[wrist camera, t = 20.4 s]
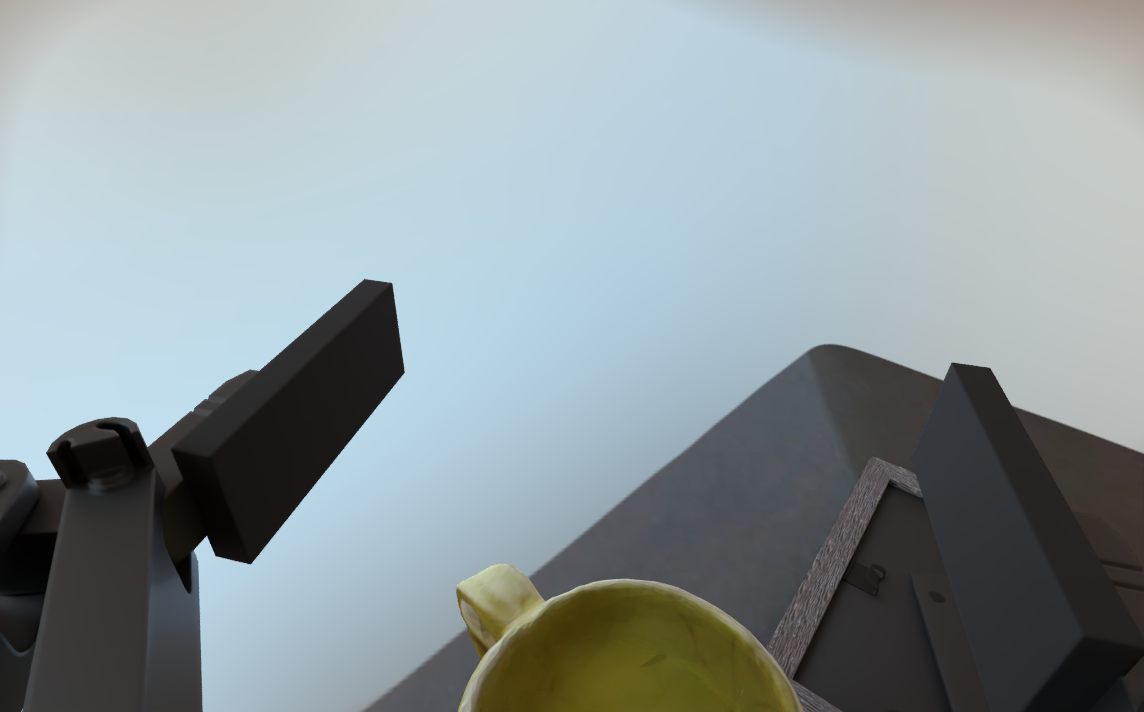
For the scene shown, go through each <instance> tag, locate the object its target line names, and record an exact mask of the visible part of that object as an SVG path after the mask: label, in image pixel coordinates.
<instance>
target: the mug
mask: <svg viewBox="0 0 1144 712" xmlns="http://www.w3.org/2000/svg"><path fill="white" fill-rule="evenodd" d="M456 593H457V598H458V604H459V608H460V610H461V615H462V617H463V619H464V621H465V623H466V625H467V627H468V631H469V636H470V637H471V639H472V641H473V643H474V645H475V647H476V650H477V652H478V654H479V656H480V658H481V662H480V663H479V665H478V667H477V668H476V670H475V672H474V673H473V675H472V677H471V678H470V680H469V683H468V685H467V687H466V690H465V692H464V695H463V698H462V701H461V704H460V706H459V709H458V712H804V709H803V707H802V705H801V703H800V701H799V698H798V696H797V694H796V692H795V691H794V689H793V687H792V685H791V684H790V682H789V680H788V678H787V677H786V675H785V673H784V672H783V670H782V668H781V667H780V666H779V664H778V663H777V662H776V660H775V659H774V657H773V656H772V655H771V654H770V653H769V652H768V651H767V650H766V649H765V648H764V647H763V645H762V644H761V643H760V642H759V641H758V640H757V639H756V638H755V637H754V636H753V635H752V633H751V632H750V631H749V630H747V629H746V628H745V627H744V626H742V625H741V624H740V623H738V622H737V621H736V620H735V619H733V618H732V617H731V616H729V615H728V614H726V613H725V612H723V611H722V610H720V609H719V608H717V607H716V606H714V605H712V604H710V603H708V602H707V601H705V600H703V599H701V598H699V597H697V596H694V595H692V594H690V593H688V592H686V591H684V590H682V589H680V588H678V587H674V586H671V585H667V584H664V583H659V582H653V581H643V580H632V579H615V580H604V581H598V582H593V583H590V584H587V585H583V586H579V587H577V588H575V589H573V590H571V591H569V592H567V593H564V594H562V595H559V596H556V597H553V598H551V599H549V600H548V601H545V600H544V599H543V598H542V597H541V596H540V594H539V593H538V591H537V590H536V589H535V587H534V586H533V584H532V583H531V581H530V580H529V579H528V578H527V577H526V576H525V575H524V574H523V573H521V572H520V571H519V570H518V569H516V568H515V567H514V566H513V565H507V564H496V565H493V566H491V567H489V568H487V569H485V570H483V571H482V572H480V573H478V574H476V575H475V576H473V577H471V578H469V579H466V580H464V581H463V582H461V583H459V584H458V585H457V586H456Z"/></svg>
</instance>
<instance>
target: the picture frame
mask: <svg viewBox="0 0 1144 712" xmlns="http://www.w3.org/2000/svg"><path fill="white" fill-rule="evenodd" d="M766 650H767V651H768V652H769V653H770V654H771V655H772V656H773V657H774V659H775V660H776V662H777V663H778V664H779V666H780V667H781V668H782V670H783V672H784V673H785V675H786V677H787V678H788V680H789V682H790V684H791V685H792V687H793V689H794V691H795V692H796V694H797V696H798V698H799V701H800V703H801V705H802V707H803V709H804V712H990V709H989V706H988V703H987V700H986V697H985V694H984V690H983V687H982V684H981V681H980V678H979V674H978V671H977V668H976V665H975V662H974V659H973V655H972V652H971V649H970V646H969V643H968V639H967V636H966V633H965V630H964V627H963V624H962V620H961V617H960V614H959V611H958V608H957V604H956V601H955V598H954V595H953V592H952V589H951V585H950V582H949V579H948V576H947V573H946V569H945V566H944V563H943V560H942V557H941V554H940V550H939V547H938V544H937V541H936V538H935V534H934V531H933V528H932V525H931V522H930V519H929V515H928V512H927V509H926V506H925V503H924V499H923V496H922V493H921V490H920V487H919V484H918V480H917V477H916V474H915V473H913V472H910V471H908V470H906V469H903V468H901V467H898V466H896V465H894V464H891V463H889V462H887V461H884V460H882V459H879V458H877V457H875V456H872V457H871V459H870V460H869V462H868V464H867V466H866V468H865V469H864V471H863V473H862V475H861V477H860V479H859V480H858V482H857V484H856V486H855V488H854V489H853V491H852V493H851V495H850V497H849V499H848V500H847V502H846V504H845V506H844V508H843V509H842V511H841V513H840V515H839V517H838V519H837V520H836V522H835V524H834V526H833V528H832V529H831V531H830V533H829V535H828V537H827V539H826V540H825V542H824V544H823V546H822V548H821V549H820V551H819V553H818V555H817V557H816V559H815V560H814V562H813V564H812V566H811V568H810V570H809V571H808V573H807V575H806V577H805V579H804V580H803V582H802V584H801V586H800V588H799V590H798V591H797V593H796V595H795V597H794V599H793V600H792V602H791V604H790V606H789V608H788V610H787V611H786V613H785V615H784V617H783V619H782V620H781V622H780V624H779V626H778V628H777V630H776V631H775V633H774V635H773V637H772V639H771V640H770V642H769V644H768V646H767V648H766Z"/></svg>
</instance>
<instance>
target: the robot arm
mask: <svg viewBox="0 0 1144 712" xmlns="http://www.w3.org/2000/svg"><path fill="white" fill-rule="evenodd" d="M404 373H405V371H404V364H403V357H402V350H401V343H400V336H399V328H398V321H397V314H396V307H395V300H394V292H393V285H392V283H387V282H381V281H374V280H367V279H364V280H363V281H362V282H361V283H359V284H358V285H357V286H356V287H355V288H354V289H353V290H352V291H350V292H349V293H348V294H347V295H346V296H345V297H343V298H342V299H341V300H340V301H339V302H338V303H337V304H335V305H334V306H333V307H332V308H331V309H330V310H329V311H327V312H326V313H325V314H324V315H323V316H322V317H321V318H319V319H318V320H317V321H316V322H315V323H314V324H313V325H311V326H310V327H309V328H308V329H307V330H306V331H305V332H303V333H302V334H301V335H300V336H299V337H298V338H297V339H295V340H294V341H293V342H292V343H291V344H290V345H289V346H288V347H286V348H285V349H284V350H283V351H282V352H281V353H279V355H277V356H276V357H275V358H274V359H273V360H271V361H270V362H269V363H268V364H267V365H266V366H264V367H263V368H262V369H261V370H260V371H255V370H248V371H246V372H244V373H243V374H240V375H238V376H236V377H234V378H232V379H230V380H228V381H226V382H225V383H224V384H223V385H221V386H220V387H219V388H218V389H217V390H216V391H214V392H213V393H212V394H211V395H209V398H208V399H205V400H203V401H202V402H201V403H200V404H199V405H197V406H196V407H195V408H194V411H193V412H192V411H191V412H189V413H188V414H187V415H186V416H184V417H183V418H182V419H181V420H180V421H178V422H177V423H176V424H175V425H174V426H172V427H171V428H170V429H169V430H168V431H167V432H165V433H164V434H163V435H162V436H160V437H159V438H158V439H157V440H156V441H155V442H153V443H152V444H151V445H150V446H149V447H147V446H146V443H145V441H144V439H143V437H142V435H141V432H140V430H139V428H138V426H137V424H136V423H135V422H133V421H131V420H129V419H127V418H117V417H111V418H104V419H97V420H94V421H91V422H87V423H84V424H81V425H79V426H77V427H75V428H73V429H71V430H69V431H67V432H65V433H64V434H63V435H61V436H60V437H59V438H58V439H56V440H55V441H54V442H53V443H52V444H51V446H50V447H49V449H48V451H47V452H46V454H47V456H48V457H49V459H50V461H51V463H52V464H53V466H54V468H55V470H56V471H57V473H58V475H59V476H60V478H61V479H53V480H35V479H34V478H33V476H32V475H31V473H30V471H29V469H28V468H27V466H26V464H25V463H22V462H19V461H17V460H0V712H21V711H22V709H23V711H22V712H203V711H202V678H201V644H200V612H199V611H200V610H199V574H198V561H197V558H196V555H195V552H194V549H195V548H196V547H197V546H198V545H199V543H200V542H201V541H202V540H203V539H204V538H205V537H206V536H207V537H208V539H209V541H210V544H211V546H212V548H213V551H214V553H215V556H217V557H222V558H226V559H230V560H234V561H239V562H243V563H247V564H252V562H253V561H254V560H255V559H256V557H257V556H258V555H259V554H260V552H261V551H262V550H263V549H264V547H265V546H266V545H267V544H268V542H269V541H270V540H271V538H272V537H273V536H274V535H275V534H276V532H277V531H278V530H279V528H280V527H281V526H282V525H283V524H284V522H285V521H286V520H287V519H288V517H289V516H290V515H291V514H292V512H293V511H294V510H295V509H296V507H297V506H298V505H299V504H300V502H301V501H302V500H303V499H304V497H305V496H306V495H307V494H308V492H309V491H310V490H311V489H312V487H313V486H314V485H315V484H316V482H317V481H318V480H319V479H320V478H321V476H322V475H323V474H324V473H325V471H326V470H327V469H328V468H329V466H330V465H331V464H332V463H333V461H334V460H335V459H336V458H337V456H338V455H339V454H340V453H341V451H342V450H343V449H344V447H345V446H346V445H347V444H348V442H349V441H350V440H351V439H352V438H353V436H354V435H355V434H356V433H357V431H358V430H359V429H360V428H361V426H362V425H363V424H364V422H365V421H366V420H367V419H368V418H369V416H370V415H371V414H372V413H373V411H374V410H375V409H376V408H377V406H378V405H379V404H380V403H381V401H382V400H383V399H384V398H385V396H386V395H387V394H388V393H389V391H390V390H391V389H392V388H393V386H394V385H395V384H396V383H397V381H398V380H399V379H400V378H401V376H402V375H403V374H404ZM910 458H911V461H912V464H913V468H914V471H915V474H916V477H917V480H918V484H919V487H920V490H921V493H922V496H923V499H924V503H925V506H926V509H927V512H928V515H929V519H930V522H931V525H932V528H933V531H934V534H935V538H936V541H937V544H938V547H939V550H940V554H941V557H942V560H943V563H944V566H945V569H946V573H947V576H948V579H949V582H950V585H951V589H952V592H953V595H954V598H955V601H956V604H957V608H958V611H959V614H960V617H961V620H962V624H963V627H964V630H965V633H966V636H967V639H968V643H969V646H970V649H971V652H972V655H973V659H974V662H975V665H976V668H977V671H978V674H979V678H980V681H981V684H982V687H983V690H984V694H985V697H986V700H987V703H988V706H989V709H990V712H1144V572H1143V571H1142V568H1143V567H1142V565H1141V564H1140V562H1139V560H1138V559H1137V557H1136V556H1135V554H1134V553H1133V551H1132V549H1131V548H1130V546H1129V545H1128V543H1127V541H1126V540H1124V539H1123V538H1122V537H1121V536H1120V535H1119V534H1118V533H1117V532H1116V531H1115V530H1113V529H1112V528H1111V527H1110V526H1109V525H1108V524H1107V523H1106V522H1105V521H1104V520H1102V519H1101V518H1100V517H1099V516H1095V515H1090V514H1084V513H1078V512H1072V511H1071V509H1070V508H1069V506H1068V504H1067V502H1066V501H1065V499H1064V497H1063V495H1062V493H1061V492H1060V490H1059V488H1058V486H1057V485H1056V483H1055V481H1054V479H1053V478H1052V476H1051V474H1050V472H1049V471H1048V469H1047V467H1046V465H1045V464H1044V462H1043V460H1042V458H1041V457H1040V455H1039V453H1038V451H1037V449H1036V448H1035V446H1034V444H1033V442H1032V441H1031V439H1030V437H1029V435H1028V434H1027V432H1026V430H1025V428H1024V427H1023V425H1022V423H1021V421H1020V420H1019V418H1018V416H1017V414H1016V413H1015V411H1014V409H1013V407H1012V406H1011V404H1010V402H1009V400H1008V398H1007V397H1006V395H1005V393H1004V392H1003V390H1002V388H1001V386H1000V385H999V383H998V381H997V379H996V377H995V376H994V374H993V372H992V371H991V369H990V368H987V367H979V366H973V365H966V364H958V363H951V366H950V368H949V370H948V372H947V374H946V377H945V379H944V381H943V384H942V386H941V388H940V390H939V393H938V395H937V397H936V400H935V402H934V404H933V406H932V409H931V411H930V413H929V416H928V418H927V420H926V422H925V425H924V427H923V429H922V432H921V434H920V436H919V438H918V441H917V443H916V445H915V448H914V450H913V452H912V454H911V457H910Z"/></svg>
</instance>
